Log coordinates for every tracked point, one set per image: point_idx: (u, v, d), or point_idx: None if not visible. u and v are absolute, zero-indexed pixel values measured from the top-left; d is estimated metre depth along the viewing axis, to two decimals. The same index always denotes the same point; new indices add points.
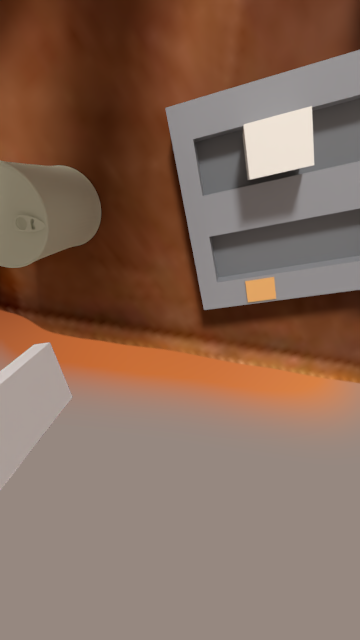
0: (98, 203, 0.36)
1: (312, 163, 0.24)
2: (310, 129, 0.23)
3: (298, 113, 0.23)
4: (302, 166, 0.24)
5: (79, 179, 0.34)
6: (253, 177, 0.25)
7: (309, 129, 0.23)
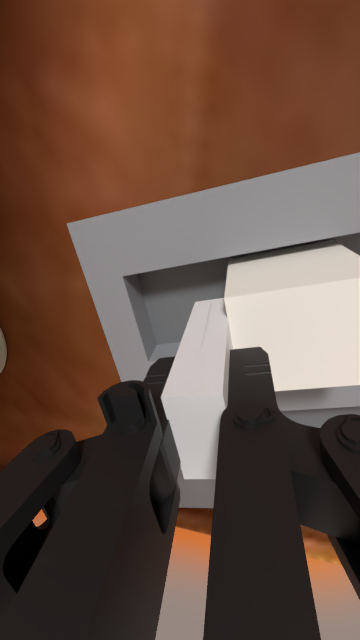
0: None
1: None
2: None
3: (353, 286, 0.10)
4: (357, 383, 0.11)
5: None
6: None
7: None
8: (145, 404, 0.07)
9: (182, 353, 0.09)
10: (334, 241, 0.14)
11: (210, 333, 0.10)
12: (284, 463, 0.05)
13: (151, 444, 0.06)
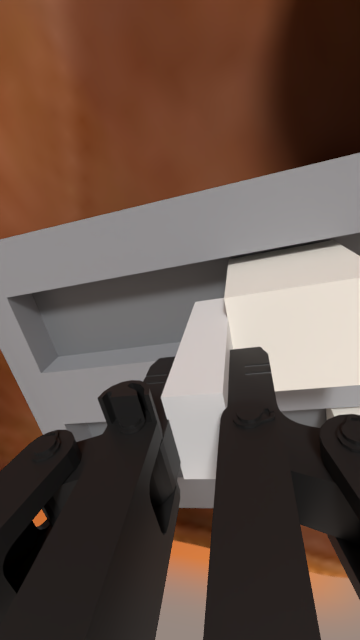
0: None
1: None
2: None
3: (353, 286, 0.10)
4: (357, 383, 0.11)
5: None
6: None
7: None
8: (145, 404, 0.07)
9: (182, 353, 0.09)
10: (334, 241, 0.14)
11: (210, 333, 0.10)
12: (284, 463, 0.05)
13: (151, 444, 0.06)
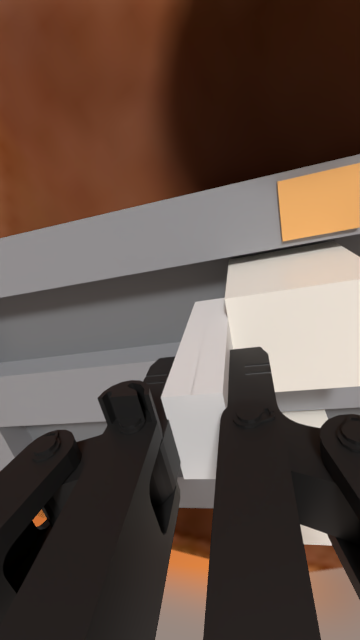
0: None
1: None
2: None
3: (354, 287, 0.10)
4: (357, 384, 0.11)
5: None
6: None
7: None
8: (145, 404, 0.07)
9: (182, 353, 0.09)
10: (334, 242, 0.14)
11: (210, 333, 0.10)
12: (284, 463, 0.05)
13: (151, 444, 0.06)
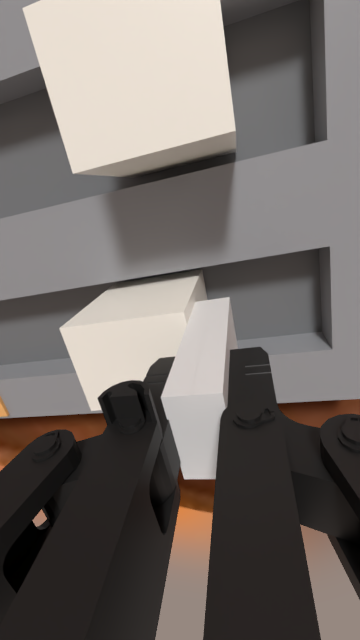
0: None
1: (230, 126, 0.08)
2: (214, 15, 0.07)
3: None
4: (203, 135, 0.08)
5: None
6: (81, 167, 0.09)
7: (211, 15, 0.07)
8: (145, 404, 0.07)
9: (182, 353, 0.09)
10: None
11: (210, 333, 0.10)
12: (284, 463, 0.05)
13: (151, 444, 0.06)
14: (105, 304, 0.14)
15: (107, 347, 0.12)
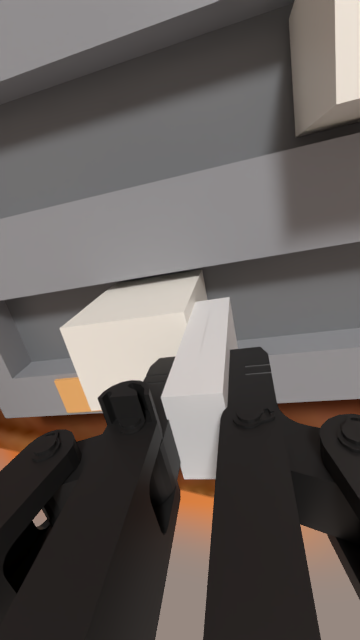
0: None
1: None
2: None
3: None
4: None
5: None
6: (350, 96, 0.08)
7: None
8: (145, 404, 0.07)
9: (182, 353, 0.09)
10: None
11: (210, 333, 0.10)
12: (284, 463, 0.05)
13: (151, 444, 0.06)
14: (105, 304, 0.14)
15: (107, 347, 0.12)
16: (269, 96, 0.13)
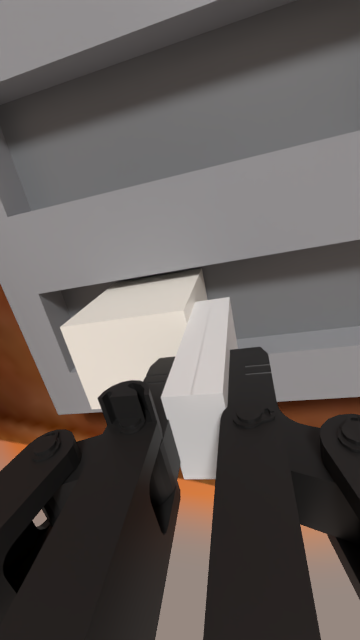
0: None
1: None
2: None
3: None
4: None
5: None
6: None
7: None
8: (145, 404, 0.07)
9: (182, 353, 0.09)
10: None
11: (210, 333, 0.10)
12: (284, 463, 0.05)
13: (151, 444, 0.06)
14: (105, 303, 0.14)
15: (107, 345, 0.12)
16: None
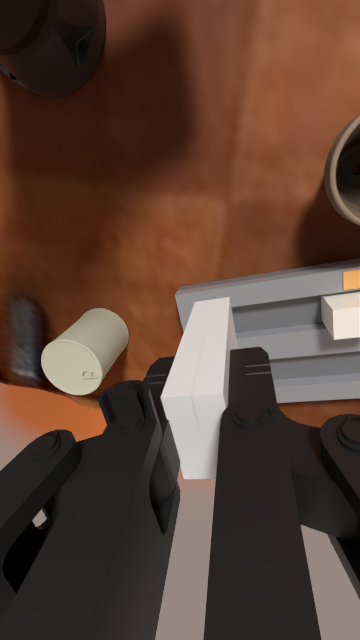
0: (127, 332, 0.52)
1: None
2: None
3: None
4: None
5: (115, 322, 0.49)
6: (336, 338, 0.38)
7: None
8: (145, 404, 0.07)
9: (182, 353, 0.09)
10: None
11: (210, 333, 0.10)
12: (285, 463, 0.05)
13: (151, 444, 0.06)
14: None
15: None
16: (314, 309, 0.43)
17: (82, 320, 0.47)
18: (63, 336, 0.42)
